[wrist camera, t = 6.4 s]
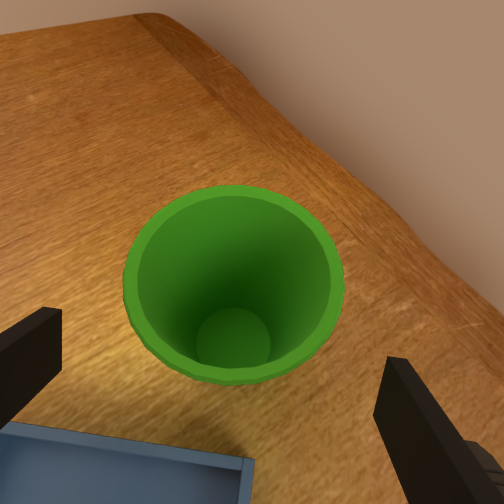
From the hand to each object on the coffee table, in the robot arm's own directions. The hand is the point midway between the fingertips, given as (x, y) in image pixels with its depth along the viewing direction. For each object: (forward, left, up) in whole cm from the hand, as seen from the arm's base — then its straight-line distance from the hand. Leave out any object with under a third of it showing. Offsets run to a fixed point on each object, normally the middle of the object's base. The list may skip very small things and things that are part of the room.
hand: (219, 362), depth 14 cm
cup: (0, -3, -9) cm, 10 cm away
